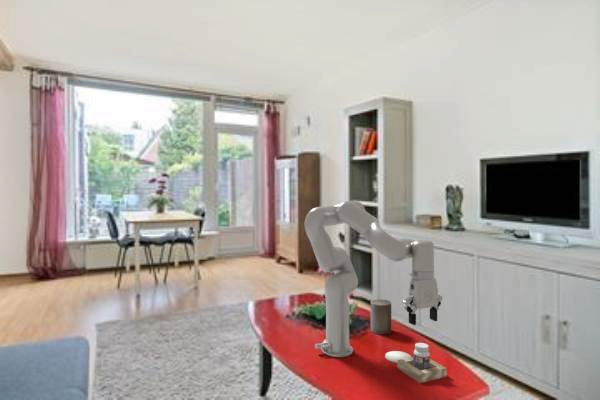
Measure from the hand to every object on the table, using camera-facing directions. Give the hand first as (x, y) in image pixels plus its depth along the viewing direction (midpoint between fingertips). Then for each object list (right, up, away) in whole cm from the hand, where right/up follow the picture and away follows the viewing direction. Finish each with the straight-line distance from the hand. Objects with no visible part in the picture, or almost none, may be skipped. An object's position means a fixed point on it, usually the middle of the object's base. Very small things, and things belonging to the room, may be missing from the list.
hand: (423, 322), depth 137 cm
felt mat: (-6, -18, +12) cm, 23 cm away
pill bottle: (0, -19, +1) cm, 19 cm away
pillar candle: (-7, -18, +42) cm, 46 cm away
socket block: (0, -18, +1) cm, 18 cm away
